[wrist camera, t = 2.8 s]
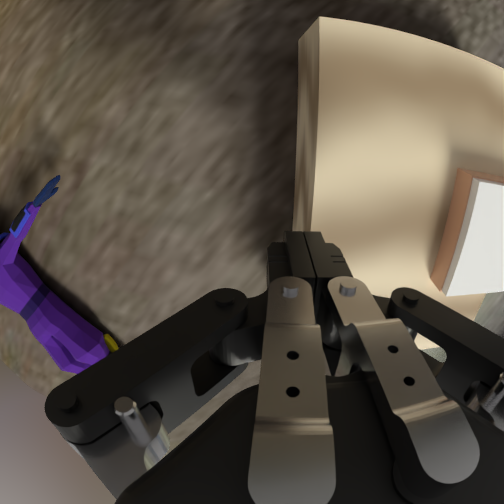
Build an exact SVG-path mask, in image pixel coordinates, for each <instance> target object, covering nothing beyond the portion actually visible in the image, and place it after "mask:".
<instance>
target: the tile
mask: <svg viewBox="0 0 504 504" xmlns="http://www.w3.org/2000/svg"><path fill="white" fill-rule="evenodd" d="M430 279H431V281H432V282H433V283H434V285H435V286H436V287H437V289H438V290H439V292H443V293H444V294H445V296H459V295H470V294H481V293H492V292H501V291H504V177H502V176H497V175H493V174H488V173H483V172H478V171H473V170H467V169H462V168H457V174H456V179H455V185H454V190H453V195H452V199H451V204H450V208H449V213H448V217H447V221H446V225H445V229H444V233H443V237H442V240H441V244H440V248H439V251H438V255H437V258H436V261H435V265H434V268H433V271H432V274H431V277H430Z"/></svg>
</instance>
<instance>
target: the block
mask: <svg viewBox="0 0 504 504" xmlns="http://www.w3.org/2000/svg"><path fill="white" fill-rule="evenodd" d="M457 168H462V169H467V170H473V171H478V172H483V173H488V174H493V175H497V176H502V177H504V69H503V68H501V67H499V66H497V65H495V64H493V63H490V62H488V61H486V60H484V59H481V58H479V57H477V56H474V55H472V54H469V53H467V52H464V51H462V50H459V49H456V48H454V47H451V46H448V45H445V44H442V43H439V42H436V41H433V40H430V39H427V38H423V37H420V36H417V35H413V34H409V33H406V32H402V31H398V30H394V29H390V28H385V27H381V26H376V25H371V24H366V23H361V22H355V21H349V20H343V19H336V18H328V17H318V18H317V20H316V21H315V22H314V23H313V24H312V25H311V26H310V27H309V29H308V30H307V31H306V32H305V33H304V34H303V35H302V37H301V38H300V39H299V40H298V113H297V145H296V170H295V191H294V210H293V227H292V231H302V232H303V231H320V232H321V234H322V236H323V238H324V241H325V243H333V244H335V245H336V246H337V247H338V248H340V250H341V252H342V254H343V257H344V258H345V260H346V263H347V264H348V267H349V269H350V271H351V273H352V275H353V277H354V278H356V279H358V280H360V281H362V282H363V283H364V284H365V285H366V286H367V288H368V289H369V291H370V293H371V294H372V295H376V296H381V297H386V298H390V297H391V293H392V291H393V290H395V289H397V288H400V287H408V288H412V289H415V290H418V291H420V292H421V293H423V294H425V295H427V296H429V297H431V298H433V299H434V300H436V301H438V302H440V303H442V304H443V305H445V306H447V307H449V308H451V309H453V310H454V311H456V312H458V313H460V314H461V315H463V316H465V317H467V318H469V319H470V320H472V321H474V319H475V317H476V315H477V312H478V310H479V308H480V306H481V304H482V302H483V299H484V297H485V295H486V293H481V294H470V295H459V296H445V294H444V293H443V292H439V290H438V289H437V287H436V286H435V285H434V283H433V282H432V281H431V279H430V277H431V274H432V271H433V268H434V265H435V261H436V258H437V255H438V251H439V248H440V244H441V240H442V237H443V233H444V229H445V225H446V221H447V217H448V213H449V208H450V204H451V199H452V195H453V190H454V185H455V179H456V174H457ZM414 342H415V344H416V346H417V347H418V349H420V350H421V349H428V348H435V347H440V346H438V345H437V344H435V343H433V342H432V341H430V340H428V339H427V338H425V337H423V336H422V335H420V334H419V333H417V336H416V338H415V340H414Z"/></svg>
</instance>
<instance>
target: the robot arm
mask: <svg viewBox="0 0 504 504" xmlns="http://www.w3.org/2000/svg"><path fill="white" fill-rule="evenodd" d="M417 333H419V334H420V335H422V336H423V337H425V338H427V339H428V340H430V341H432V342H433V343H435V344H437V345H438V346H440V347H442V348H443V349H444V350H445V352H446V354H447V359H446V361H445V362H439V361H437V360H436V359H434V358H433V357H431V356H429V355H428V354H426V353H425V352H423V351H421V350H420V349H418V347H417V346H416V344H415V342H414V340H415V338H416V336H417ZM260 359H261V370H260V380H259V384H257V385H254V386H251V387H249V388H247V389H244V390H242V391H241V392H239V393H237V394H236V395H234V396H233V397H231V398H230V399H229V400H228V401H226V402H225V403H224V404H223V405H222V406H221V407H220V408H219V409H218V410H217V411H216V412H215V413H214V414H212V415H211V416H210V417H209V418H208V419H207V420H206V421H205V422H204V423H203V424H202V425H201V426H199V427H198V428H197V429H196V430H195V431H194V432H193V433H192V434H190V435H189V436H188V437H187V438H186V439H185V440H184V441H183V442H181V443H180V444H179V445H178V446H177V447H176V448H174V449H173V450H172V451H171V452H170V453H169V454H168V455H166V456H165V457H164V458H163V459H162V460H160V459H161V458H162V457H163V456H164V455H165V454H166V452H167V451H168V449H169V445H170V438H169V435H168V434H169V433H170V432H171V431H172V430H174V429H175V428H176V427H177V426H179V425H180V424H181V423H182V422H184V421H185V420H186V419H187V418H189V417H190V416H191V415H192V414H194V413H195V412H196V411H197V410H199V409H200V408H201V407H202V406H203V405H205V404H206V403H207V402H208V401H209V400H211V399H212V398H213V397H214V396H215V395H217V394H218V393H219V392H220V391H221V390H222V389H224V388H225V387H226V386H227V385H228V384H229V383H230V382H232V381H233V380H234V379H235V378H236V377H237V376H238V375H240V374H241V373H242V372H243V371H244V370H245V369H246V367H247V366H248V362H252V361H256V360H260ZM45 413H46V416H47V417H48V419H49V420H50V421H51V422H52V424H53V425H54V426H55V427H56V428H57V429H58V431H59V432H60V434H61V435H62V437H63V438H64V439H65V440H66V441H67V442H68V444H69V445H70V446H71V447H72V448H73V449H74V450H75V451H76V452H77V453H78V454H79V455H80V456H81V457H82V458H84V459H85V460H86V462H87V463H88V465H89V466H90V467H91V468H92V470H93V471H94V472H95V474H96V475H97V476H98V478H99V479H100V480H101V481H102V483H103V484H104V485H105V486H106V488H107V489H108V490H109V491H110V492H111V493H112V495H113V496H114V497H115V498H116V499H117V500H116V502H115V504H504V339H503V338H501V337H500V336H498V335H496V334H495V333H493V332H491V331H489V330H488V329H486V328H484V327H483V326H481V325H479V324H477V323H476V322H474V321H472V320H470V319H469V318H467V317H465V316H463V315H461V314H460V313H458V312H456V311H454V310H453V309H451V308H449V307H447V306H445V305H443V304H442V303H440V302H438V301H436V300H434V299H433V298H431V297H429V296H427V295H425V294H423V293H421V292H420V291H418V290H415V289H412V288H408V287H400V288H397V289H395V290H393V291H392V293H391V297H390V298H386V297H381V296H376V295H372V294H371V293H370V291H369V289H368V288H367V286H366V285H365V284H364V283H363V282H362V281H360V280H358V279H356V278H354V277H353V275H352V273H351V271H350V269H349V267H348V264H347V263H346V260H345V258H344V257H343V254H342V252H341V250H340V248H338V247H337V246H336V245H335V244H333V243H325V241H324V238H323V236H322V234H321V232H320V231H303V232H302V231H284V242H272V243H271V245H270V246H269V247H268V248H267V290H266V291H265V292H264V293H263V294H261V295H259V296H256V297H252V298H247V297H246V296H245V294H244V293H242V292H241V291H238V290H236V289H231V288H221V289H216V290H213V291H211V292H209V293H207V294H206V295H204V296H203V297H201V298H200V299H198V300H196V301H195V302H193V303H192V304H190V305H188V306H187V307H185V308H184V309H182V310H180V311H179V312H177V313H176V314H174V315H172V316H171V317H169V318H168V319H166V320H164V321H163V322H161V323H160V324H158V325H156V326H155V327H153V328H152V329H150V330H148V331H147V332H145V333H143V334H142V335H140V336H139V337H137V338H135V339H134V340H132V341H131V342H129V343H127V344H126V345H124V346H122V347H121V348H119V349H118V350H116V351H114V352H113V353H111V354H109V355H108V356H106V357H105V358H103V359H101V360H100V361H98V362H96V363H95V364H93V365H92V366H90V367H88V368H87V369H85V370H83V371H82V372H80V373H78V374H77V375H75V376H73V377H72V378H70V379H69V380H67V381H65V382H64V383H62V384H60V385H59V386H57V387H56V388H54V389H53V390H52V391H51V392H50V394H49V395H48V397H47V399H46V402H45ZM159 460H160V461H159Z"/></svg>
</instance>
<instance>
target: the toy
mask: <svg viewBox="0 0 504 504" xmlns="http://www.w3.org/2000/svg"><path fill="white" fill-rule="evenodd" d="M59 180H60V175H57V176H56V177H54V178H53V179H52V180H50V181H49V182H48V183H47V184H46V186H45V187H44V188H43V189H42V191H41V192H40V193H39V194H38V195H37V197H36V198H35V200H34V201H33V202H28V203H27V204H26V205H25V206H24V208H23V209H22V210H21V211H20V212H19V214H18V215H17V216H16V218H15V219H14V221H13V223H12V225H11V227H10V229H9V230H10V233H5V232H4V233H2V234H0V304H2V305H4V306H6V307H7V308H9V309H11V310H13V311H15V312H17V313H19V314H20V315H21V316H22V317H23V318H24V319H25V320H26V322H27V324H28V326H29V329H30V331H31V332H32V334H33V335H34V336H35V338H36V339H37V340H38V341H39V342H40V343H41V344H42V345H43V346H44V347H45V349H46V350H47V352H48V353H49V354H50V356H51V357H52V358H53V360H54V361H55V363H56V364H57V365H58V367H59V368H60V369H61V370H62V371H67V372H72V373H76V374H78V373H80V372H82V371H83V370H85V369H87V368H88V367H90V366H92V365H93V364H95V363H96V362H98V361H100V360H101V359H103V358H105V357H106V356H108V355H109V354H111V353H113V352H114V351H116V350H118V349H119V348H118V346H117V344H116V342H115V341H114V340H113V338H112V337H111V336H109V335H108V334H104V335H103V333H102V332H101V331H99V330H98V329H97V328H95V327H94V326H93V325H91V324H90V323H89V322H87V321H86V320H85V319H83V318H82V317H81V316H80V315H79V314H77V313H76V312H75V311H74V310H73V309H71V308H70V307H69V306H68V305H67V304H66V303H65V302H63V301H62V300H61V299H60V298H59V297H58V296H57V295H56V294H55V293H54V292H52V291H51V290H50V289H49V288H48V287H47V286H46V285H45V284H44V283H43V282H42V280H41V279H40V278H39V276H38V275H37V274H36V273H35V271H34V270H33V269H32V267H31V266H30V264H29V263H28V262H26V261H25V260H24V259H23V258H22V257H21V256H20V255H19V253H18V252H17V251H18V248H19V246H20V243H21V241H22V240H23V239H24V238H25V236H26V235H27V233H28V231H29V229H30V227H31V225H32V223H33V221H34V219H35V217H36V215H37V213H38V211H39V209H40V207H41V205H42V203H43V202H45V201H46V200H47V199H49V198H50V197H51V196H52V195H54V194H55V193H56V192H57V190H58V188H59V187H55V186H56V184H57V183H58V182H59ZM54 187H55V188H54Z"/></svg>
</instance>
